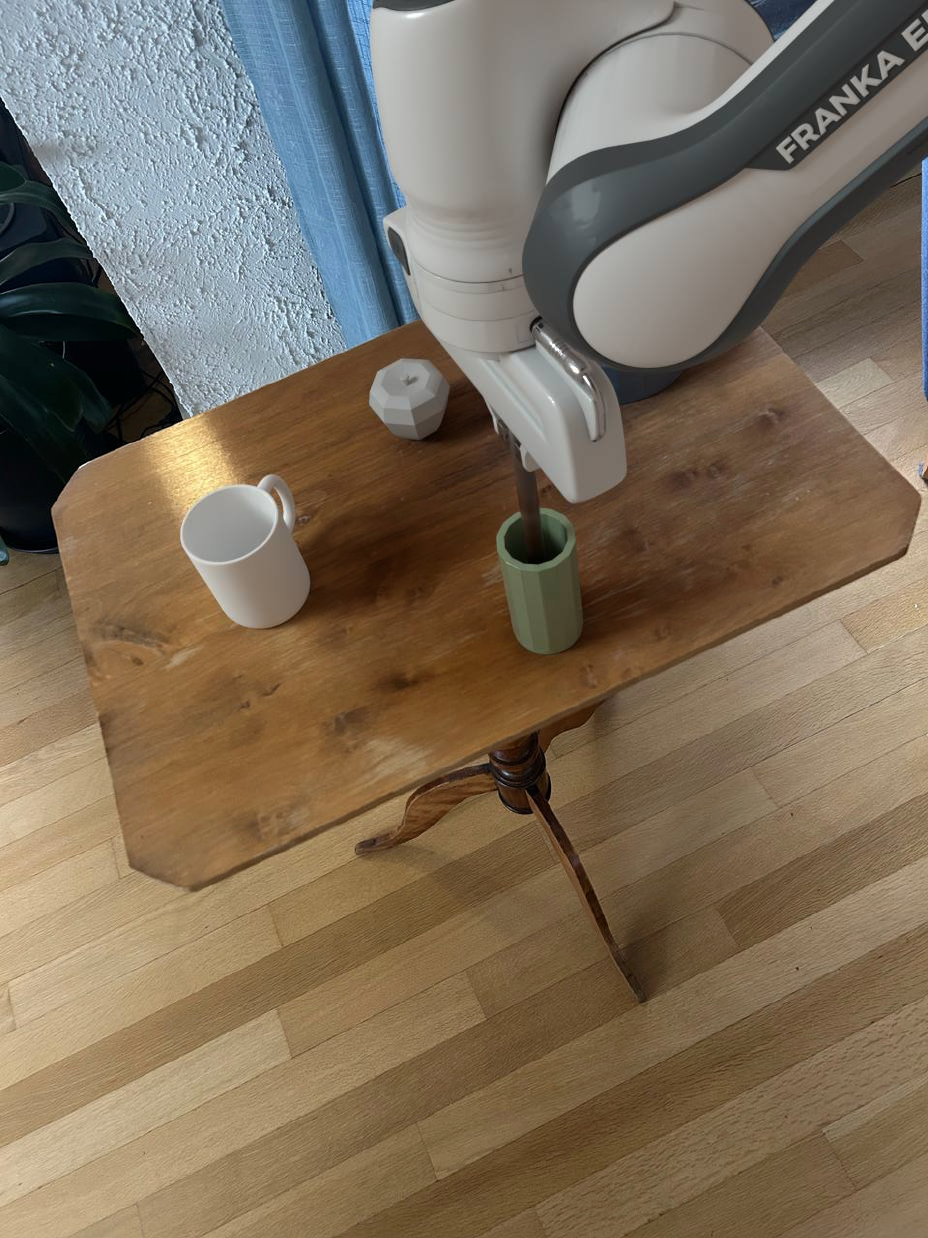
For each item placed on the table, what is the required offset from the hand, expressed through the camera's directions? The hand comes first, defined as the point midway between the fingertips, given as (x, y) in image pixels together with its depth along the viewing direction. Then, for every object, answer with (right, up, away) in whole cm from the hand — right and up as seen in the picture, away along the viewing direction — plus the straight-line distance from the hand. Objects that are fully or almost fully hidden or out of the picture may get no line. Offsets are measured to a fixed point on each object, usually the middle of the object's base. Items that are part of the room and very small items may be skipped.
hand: (522, 448), depth 65 cm
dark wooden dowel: (+3, -11, +16) cm, 20 cm away
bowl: (+11, +16, +35) cm, 40 cm away
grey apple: (-8, +8, +33) cm, 35 cm away
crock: (+3, -12, +18) cm, 22 cm away
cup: (-21, -7, +25) cm, 34 cm away
